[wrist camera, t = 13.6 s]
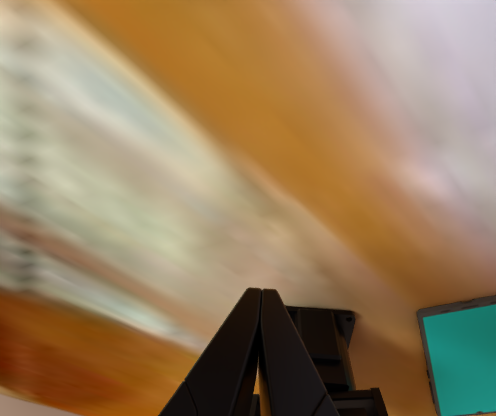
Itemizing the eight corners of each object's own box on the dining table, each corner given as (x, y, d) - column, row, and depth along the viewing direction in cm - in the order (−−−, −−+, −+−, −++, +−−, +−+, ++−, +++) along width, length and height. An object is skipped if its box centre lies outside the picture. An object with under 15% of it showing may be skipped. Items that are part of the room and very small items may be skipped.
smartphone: (525, 294, 23) (523, 410, 29) (518, 286, 23) (517, 400, 30) (416, 314, 25) (437, 419, 31) (412, 306, 25) (433, 409, 32)
